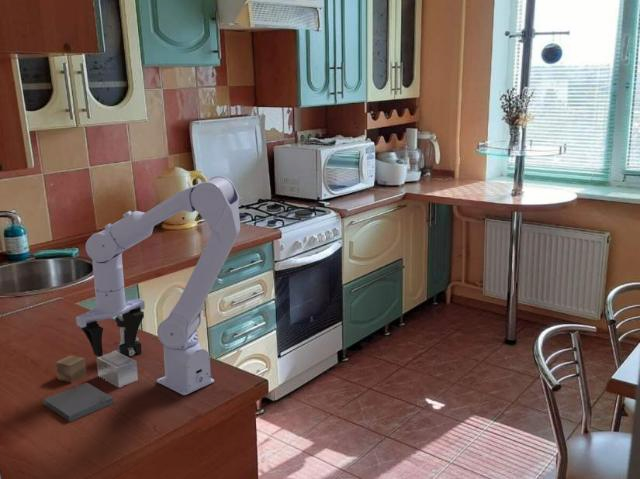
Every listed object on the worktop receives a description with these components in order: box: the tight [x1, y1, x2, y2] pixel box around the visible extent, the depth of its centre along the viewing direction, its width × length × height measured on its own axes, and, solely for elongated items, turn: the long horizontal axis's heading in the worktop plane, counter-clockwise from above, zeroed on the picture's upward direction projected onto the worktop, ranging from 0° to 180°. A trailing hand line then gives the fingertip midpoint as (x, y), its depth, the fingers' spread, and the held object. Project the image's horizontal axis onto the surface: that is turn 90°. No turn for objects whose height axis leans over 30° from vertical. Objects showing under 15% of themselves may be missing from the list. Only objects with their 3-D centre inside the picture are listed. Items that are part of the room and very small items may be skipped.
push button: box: [111, 315, 143, 357], centre depth 139 cm, size 7×5×10 cm
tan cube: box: [55, 354, 87, 383], centre depth 129 cm, size 4×4×4 cm
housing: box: [96, 350, 139, 389], centre depth 128 cm, size 8×4×5 cm, turn 50°
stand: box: [43, 382, 114, 423], centre depth 118 cm, size 10×9×1 cm
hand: (115, 349), depth 127 cm, fingers open, 7 cm apart
